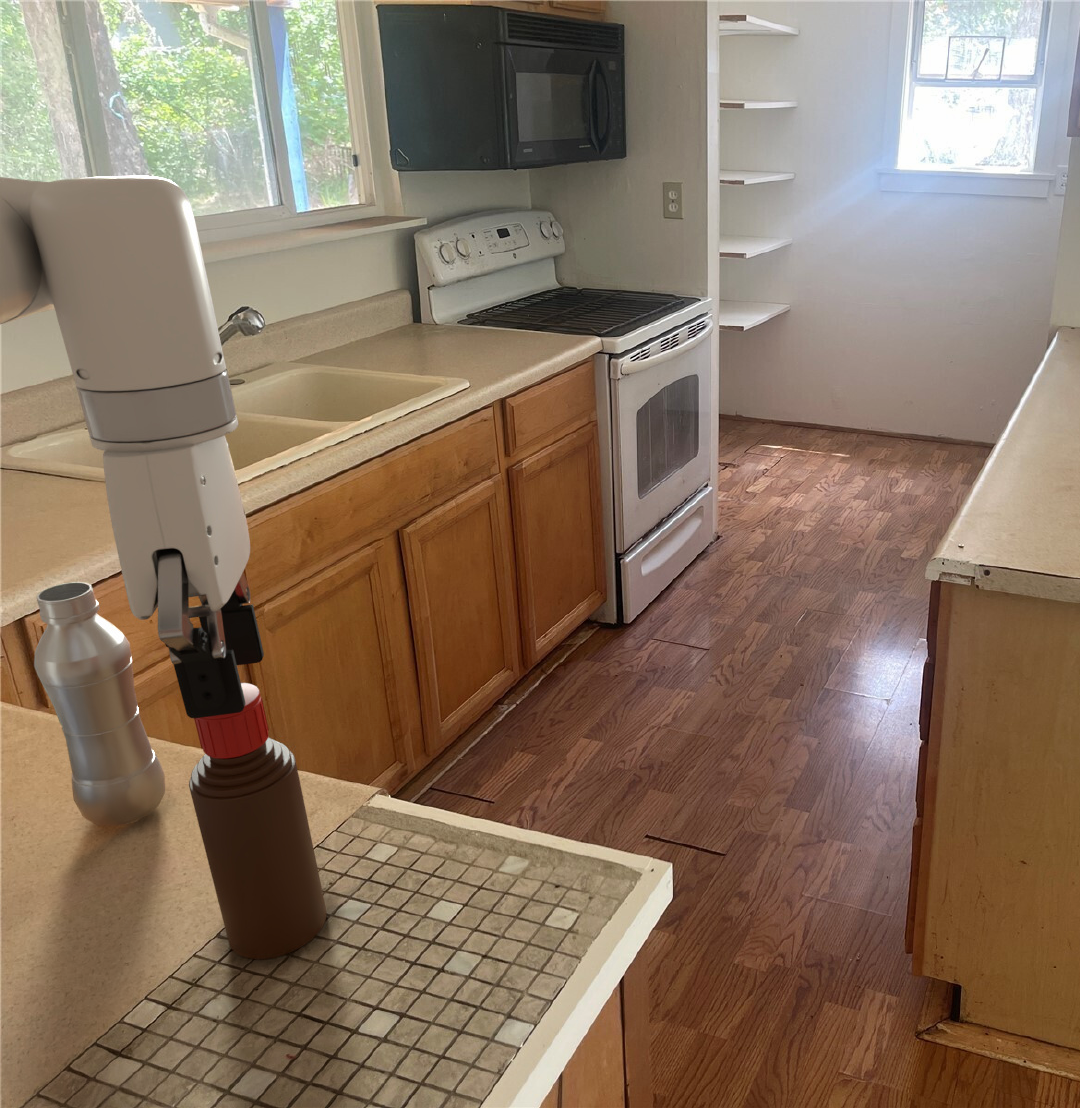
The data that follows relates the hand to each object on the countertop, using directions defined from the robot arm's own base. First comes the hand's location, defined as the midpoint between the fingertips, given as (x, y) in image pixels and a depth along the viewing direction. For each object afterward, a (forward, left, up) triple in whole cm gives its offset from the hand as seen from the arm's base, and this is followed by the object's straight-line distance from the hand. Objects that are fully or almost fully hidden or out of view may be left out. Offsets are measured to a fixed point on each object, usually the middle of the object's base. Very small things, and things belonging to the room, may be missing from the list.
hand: (227, 684), depth 66 cm
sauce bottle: (0, 0, -19) cm, 19 cm away
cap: (0, 0, -4) cm, 4 cm away
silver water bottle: (-3, +22, -20) cm, 30 cm away
